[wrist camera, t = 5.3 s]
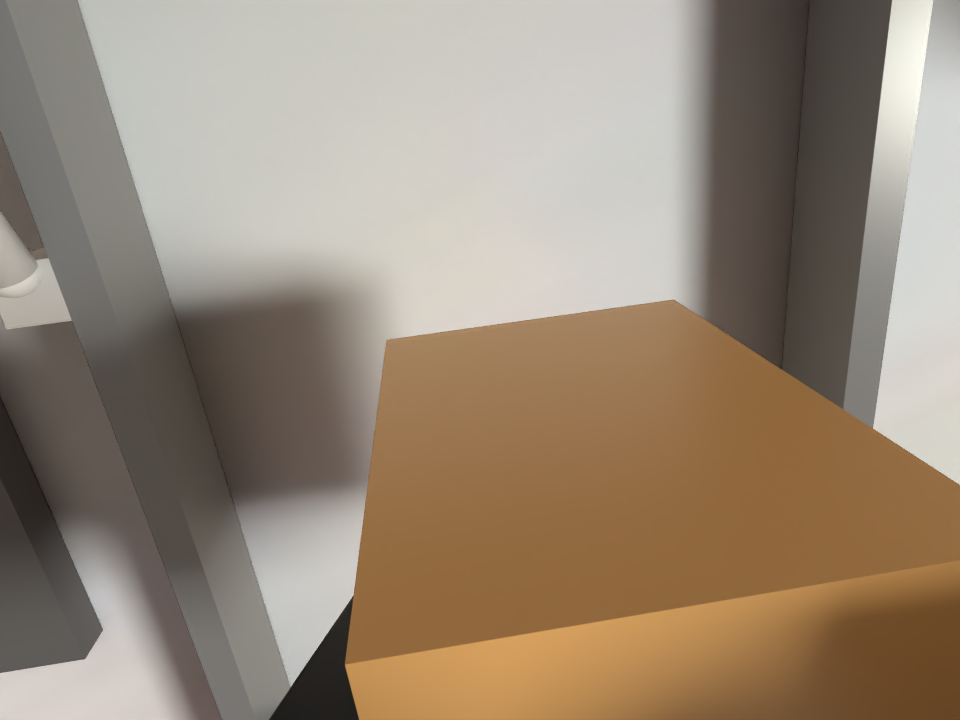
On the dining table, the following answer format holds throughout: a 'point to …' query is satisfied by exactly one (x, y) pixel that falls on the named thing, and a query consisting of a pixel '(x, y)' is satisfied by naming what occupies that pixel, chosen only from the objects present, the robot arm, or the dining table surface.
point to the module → (642, 536)
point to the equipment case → (163, 358)
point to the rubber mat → (36, 573)
